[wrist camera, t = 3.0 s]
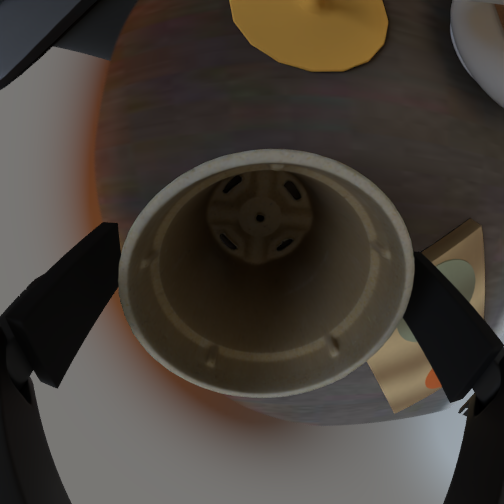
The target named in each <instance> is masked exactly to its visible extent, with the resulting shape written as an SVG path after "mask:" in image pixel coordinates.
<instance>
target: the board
mask: <svg viewBox="0 0 504 504" xmlns="http://www.w3.org/2000/svg"><path fill="white" fill-rule="evenodd" d="M421 253H422V254H423V255H424V256H425V257H426V258H427V259H428V260H429V261H430V262H432V263H433V264H434V265H435V266H436V267H437V268H438V269H439V270H440V271H441V273H442V274H443V275H444V276H445V277H446V278H447V279H448V280H449V281H450V282H451V283H452V284H453V285H454V286H455V287H456V288H457V289H458V290H459V292H460V293H461V294H462V295H463V296H464V297H465V298H466V299H467V300H468V302H469V303H470V304H471V305H472V306H473V307H474V308H475V310H476V311H477V312H478V313H479V314H480V315H481V317H482V318H483V319H484V304H485V261H484V244H483V233H482V226H481V225H480V224H478V223H477V222H475V221H474V220H472V219H471V218H470V219H469V220H467V221H466V222H465V223H463V224H462V225H460V226H459V227H458V228H456V229H455V230H453V231H452V232H451V233H449V234H448V235H446V236H445V237H443V238H442V239H440V240H439V241H438V242H436V243H435V244H433V245H432V246H430V247H429V248H427V249H426V250H424V251H422V252H421ZM367 363H368V364H369V366H370V368H371V370H372V372H373V374H374V376H375V377H376V379H377V381H378V383H379V385H380V387H381V389H382V391H383V393H384V394H385V396H386V398H387V400H388V402H389V404H390V406H391V408H392V410H393V412H394V414H395V413H397V412H399V411H401V410H403V409H405V408H407V407H409V406H411V405H413V404H414V403H416V402H418V401H420V400H422V399H423V398H425V397H427V396H429V395H430V394H432V393H434V392H435V391H437V390H439V389H440V388H442V387H439V388H434V389H430V388H427V387H426V385H425V380H426V377H427V375H428V374H429V372H430V371H431V369H432V367H431V365H430V363H429V361H428V359H427V358H426V356H425V354H424V352H423V351H422V349H421V347H420V345H419V344H418V342H417V340H416V339H415V337H414V335H413V334H412V332H411V330H410V329H409V327H408V325H407V324H406V322H405V320H404V319H403V317H402V319H401V321H400V322H399V324H398V326H397V328H396V330H395V331H394V332H393V334H392V335H391V337H390V338H389V339H388V340H387V341H386V342H385V343H384V345H383V346H382V347H381V348H380V349H379V350H378V351H377V352H376V353H375V354H374V355H373V356H372V357H371V358H370V359H369V360H368V361H367Z"/></svg>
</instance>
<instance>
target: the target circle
mask: <svg viewBox="0 0 504 504" xmlns="http://www.w3.org/2000/svg"><path fill="white" fill-rule="evenodd" d="M425 385H426V387H427V388H430V389H434V388H439V387H442V386H441V384H440V382H439V380H438V378H437V376H436V374H435V372H434V370H433V369H431V371H430V372H429V374H428V375H427V377H426V380H425Z"/></svg>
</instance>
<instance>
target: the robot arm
mask: <svg viewBox="0 0 504 504" xmlns="http://www.w3.org/2000/svg"><path fill="white" fill-rule="evenodd" d="M3 1H4V0H0V3H2V2H3ZM413 256H414V264H415V266H414V267H415V272H414V280H413V287H412V291H411V296H410V299H409V302H408V305H407V308H406V311H405V313H404V315H403V319H404V320H405V322H406V324H407V325H408V327H409V329H410V330H411V332H412V334H413V335H414V337H415V339H416V340H417V342H418V344H419V345H420V347H421V349H422V351H423V352H424V354H425V356H426V358H427V359H428V361H429V363H430V365H431V367H432V369H433V370H434V372H435V374H436V376H437V378H438V380H439V382H440V384H441V386H442V388H443V390H444V392H445V393H446V396H447V398H448V400H449V402H450V403H452V402H455V401H458V400H460V399H463V398H464V397H465V396H466V394H467V393H468V392H469V391H470V390H471V389H472V388H473V390H474V392H475V393H474V394H473V395H472V396H471V397H470V399H469V400H468V401H467V402H466V403H465V404H464V405H463V406H462V407H461V408H460V410H459V412H458V413H461V412H462V411H463V410H464V409H465V408H468V409H467V410H466V412H465V413H464V414H463V415H465V416H467V420H466V426H465V431H464V436H463V441H462V445H461V449H460V453H459V457H458V461H457V464H456V468H455V471H454V475H453V478H452V481H451V484H450V487H449V490H448V493H447V495H446V498H445V501H444V503H443V504H504V347H503V346H504V345H503V343H502V342H501V341H500V339H499V338H498V337H497V335H496V334H495V333H494V332H493V330H492V329H491V328H490V326H489V325H488V324H487V323H486V322H485V320H484V319H483V318H482V317H481V315H480V314H479V313H478V312H477V311H476V310H475V308H474V307H473V306H472V305H471V304H470V303H469V302H468V300H467V299H466V298H465V297H464V296H463V295H462V294H461V293H460V292H459V290H458V289H457V288H456V287H455V286H454V285H453V284H452V283H451V282H450V281H449V280H448V279H447V278H446V277H445V276H444V275H443V274H442V273H441V271H440V270H439V269H438V268H437V267H436V266H435V265H434V264H433V263H432V262H430V261H429V260H428V259H427V258H426V257H425V256H424V255H423V254H422V253H421V252H413ZM120 258H121V250H120V242H119V232H118V223H108V222H103V223H101V224H100V225H99V226H98V227H96V228H95V229H94V230H93V231H92V232H90V233H89V234H88V235H87V236H86V237H85V238H83V239H82V240H81V241H80V242H79V243H78V244H77V245H75V246H74V247H73V248H72V249H71V250H70V251H69V252H67V253H66V254H65V255H64V256H63V257H62V258H61V259H60V260H59V261H58V262H57V263H56V264H55V265H53V266H52V267H51V268H50V269H49V270H48V271H47V272H46V273H45V274H43V275H42V276H40V277H38V278H37V279H35V280H34V281H33V282H32V283H31V284H30V285H29V286H28V287H27V288H26V290H24V291H23V292H22V293H21V294H20V297H19V296H18V297H17V298H16V299H15V300H14V302H13V303H12V304H11V305H10V306H9V307H8V308H7V309H6V310H5V312H4V313H3V314H2V315H1V316H0V504H72V503H71V501H70V499H69V498H68V495H67V493H66V491H65V489H64V486H63V484H62V482H61V479H60V477H59V474H58V472H57V469H56V466H55V464H54V461H53V458H52V456H51V453H50V450H49V446H48V443H47V440H46V437H45V434H44V430H43V426H42V422H41V419H40V414H39V410H38V406H37V401H36V397H35V391H34V386H33V382H32V380H31V378H30V375H31V373H32V371H33V370H34V372H35V373H36V375H37V377H38V378H39V380H40V381H41V382H43V383H45V384H48V385H50V386H52V387H55V388H58V387H59V385H60V383H61V381H62V379H63V377H64V375H65V374H66V371H67V370H68V368H69V366H70V364H71V362H72V361H73V359H74V357H75V355H76V354H77V352H78V350H79V348H80V347H81V345H82V343H83V342H84V340H85V338H86V337H87V335H88V333H89V331H90V330H91V328H92V327H93V325H94V323H95V322H96V320H97V319H98V317H99V315H100V314H101V312H102V311H103V309H104V307H105V306H106V305H107V303H108V302H109V300H110V298H111V297H112V295H113V294H114V292H115V291H116V290H117V288H118V287H119V285H118V277H119V262H120Z"/></svg>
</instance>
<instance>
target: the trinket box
mask: <svg viewBox="0 0 504 504" xmlns="http://www.w3.org/2000/svg"><path fill="white" fill-rule="evenodd" d="M450 14H451V23H450V34H451V39H452V43H453V46H454V49H455V51H456V53H457V56H458V58H459V60H460V61H461V63H462V65H463V66H464V68H465V69H466V71H467V72H468V73H469V74H470V76H471V77H472V78H473V79H474V80H475V81H476V82H477V83H478V84H479V85H480V87H481V88H482V89H483V90H484V91H485V92H486V93H487V94H488V95H489V96H490V97H491V98H492V99H493V100H494V101H495V102H496V103H497V104H499V105H500V106H501V107H503V108H504V5H501V4H493V3H484V2H471V1H468V0H452V4H451V11H450Z"/></svg>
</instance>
